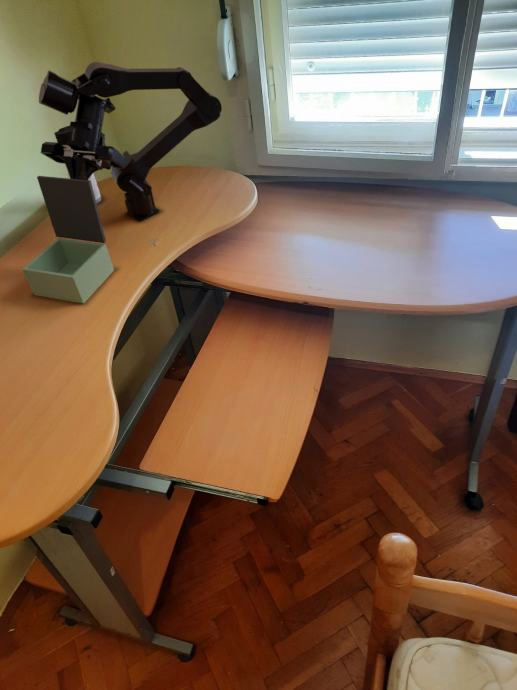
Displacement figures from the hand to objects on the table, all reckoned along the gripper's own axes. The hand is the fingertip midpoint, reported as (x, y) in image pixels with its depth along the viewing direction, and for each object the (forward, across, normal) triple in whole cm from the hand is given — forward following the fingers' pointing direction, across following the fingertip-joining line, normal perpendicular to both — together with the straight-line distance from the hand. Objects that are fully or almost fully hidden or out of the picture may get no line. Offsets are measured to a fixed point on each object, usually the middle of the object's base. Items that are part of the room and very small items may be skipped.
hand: (76, 193), depth 103 cm
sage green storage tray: (+20, -4, +1) cm, 20 cm away
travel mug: (-4, +15, -24) cm, 28 cm away
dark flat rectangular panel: (+5, -4, +6) cm, 9 cm away
